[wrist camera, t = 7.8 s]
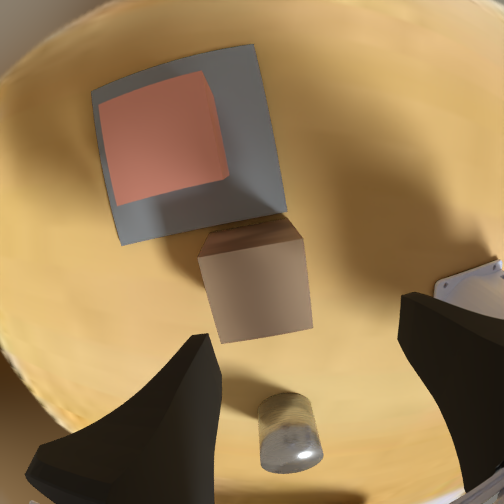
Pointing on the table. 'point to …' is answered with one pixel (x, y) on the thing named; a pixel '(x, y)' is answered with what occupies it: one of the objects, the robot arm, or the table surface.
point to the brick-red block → (163, 138)
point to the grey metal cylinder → (288, 434)
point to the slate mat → (235, 145)
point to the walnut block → (256, 281)
